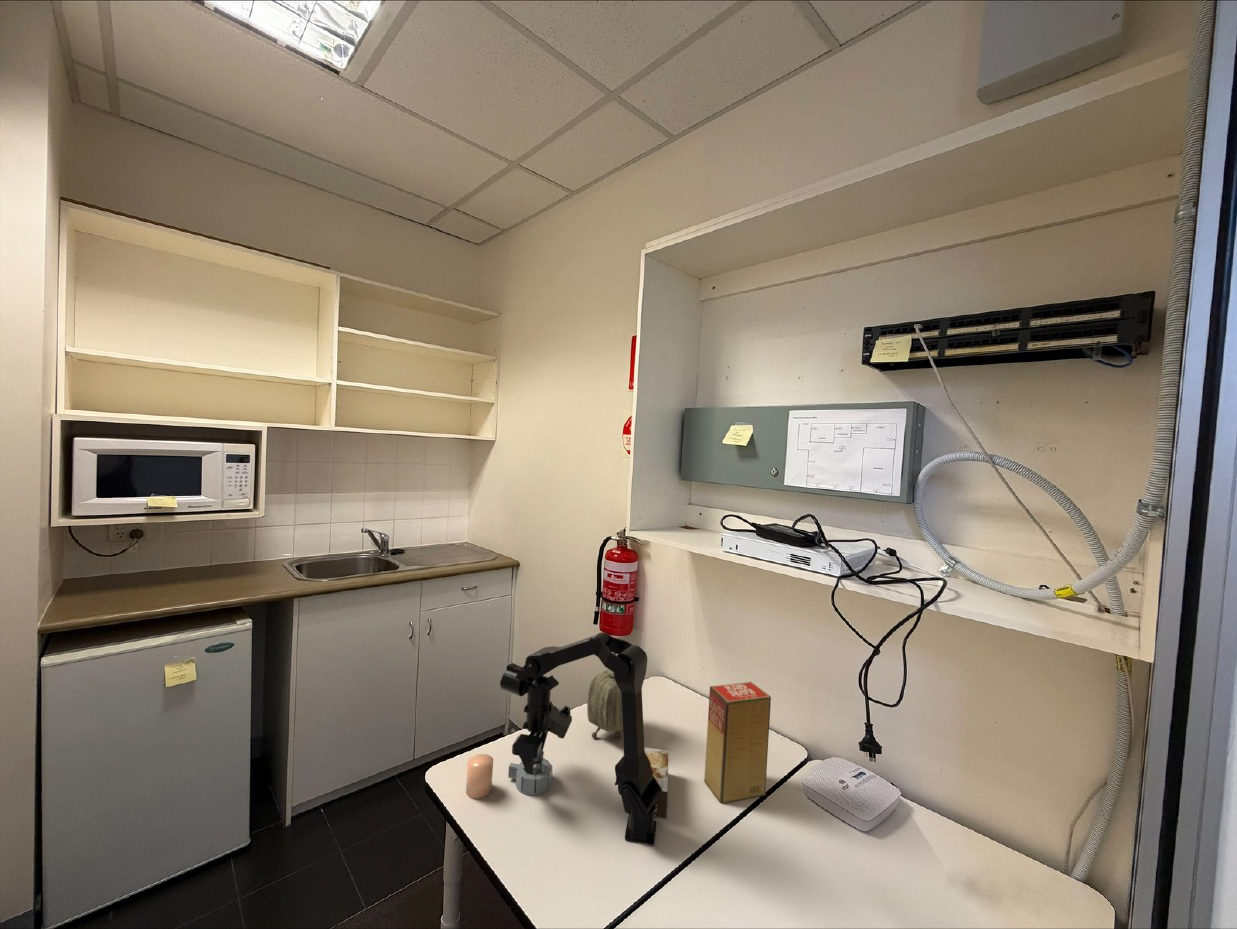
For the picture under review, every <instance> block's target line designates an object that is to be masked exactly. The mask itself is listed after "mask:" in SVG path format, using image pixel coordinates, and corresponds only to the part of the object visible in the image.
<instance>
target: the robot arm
mask: <svg viewBox="0 0 1237 929" xmlns="http://www.w3.org/2000/svg"><path fill="white" fill-rule="evenodd" d="M613 653H616V655H615V654H613ZM593 655H594V656H596V657H597V658H598V660H599V661H600V662H601V663H602V664H603V666H604V667H605V668H606V669H607V670H608V669H609V670H611V671H612V672H613V673H614V678H615V682H616V684H617V685H618V687H619V689H620V691H621V704H622V726H623V728H622V746H623V747H622V748H623V749H622V750H623V756H622V757H621V758H620V760H619V761H618V762H617V763H616V764H615V765H614V773H615V783H614V786H617V790H618V795H619V796H621V801H622V805H623V809H624V812H625V813H626V814H628V817H627V822H626V827H625V832H624V840H625V841H627V842H634V843H640V844H644V845H650V846H654V845H655V842H656V831H657V821H656V820H655V818H656V816H655V802H656V800H657V799H658V798H659V796H660V794H661V792H662V788H661V787H660V785H659V784H658V782H657V781H656V779H655V777H654V776H653V773H652V768H651V763H650V760H649V759H648V757H647V755H646V753H645V750H644V747H645V734H644V733H645V732H644V711H643V691H642V690H643V685H644V681H645V678H646V675H647V668H648V666H647V665H648V655H647V652H646V651H645V650H644V649H643V648H642V647H640V646H639V645H636V644H635V645H634V644H632V643H630V642H629V641H628V640H625V639H621V638H617V637H614V636H612V635H610V634H608V632H603V631H602V632H598V633H597V634H594V635H592V636H589V637H587V638H583V639H581V640H577V641H574V642H572V643H569V644H566V645H562V646H555V645H553V646H545V647H542V648H540V649H539V650H537V651H535V652H533V653H531V654H529V655H527V657H526V658H525V663H524V666H520V665H517V664H516V663H513V662H510V663H509V664H508V665H506V670H505V671H504V672H503V674H502V676H501V678H500V681H499V685H500V690H502V691H505V692H507V693H510V694H513V695H515V696H518V697H524V696H525V695H526V705H525V706H524V708H523V713H525V721H524V723H523V725H522V730H523V729H524V730H527V731H528V732H530V733H529V734H525V733H520V734H519V735H518V736H517V737H516V738H515V740H514V742H513V744H512V747H511V753H512V755H513V756H518V757H519V759H520V762H522V763H523V765H524V767H525V769H526V772H527V773H529V774H531V773H532V770H533V766H534V761H535V758H536V757H538V755H539V754H540V752H541V750H543V751H544V748H545V743H546V740H547V737H548V734H549V732H550V733H551V734H553V735H556V736H557V737H558V739H562V740H563V739H565V737H566V734H567V733H568V730H569V728H570V726H571V723H572V721H573V716H572V715H571V713H572V712H571V707H569V706H567V705H564V706H562V708H558V707H557V706H556V705H554V703H553V702H552V701H551V691H552V690H553V689H554V688H556V687H557V686H559V685H560V682H559V681H558V680H557V678H555V676H554V675H553V674H551V675H550V676H547V675H546V674H548V673H549V672H551V671H553V670H554V669H556V668H557V667H559V666H563V665H566V664H569V663H572V662H575V661H578V660H580V659H585V658H587V657H591V656H593Z"/></svg>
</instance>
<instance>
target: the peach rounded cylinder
mask: <svg viewBox="0 0 1237 929" xmlns="http://www.w3.org/2000/svg"><path fill="white" fill-rule="evenodd" d="M466 766H467V770H466V772H467V773H466V786H465V794H466V796H467V797H469V798H470V799H472V798H475V799H474V800H479V799H478V798H481V799H484V798H486V797H488V796H489V795H488V794H489V793H490V794H491V792H492V789H493V773H494V758H493V756H492V755H489V754H488V753H480V754H474V755H473V756H472V757H470V758H469V759H468V760H467V765H466ZM485 796H486V797H485Z"/></svg>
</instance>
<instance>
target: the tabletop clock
mask: <svg viewBox="0 0 1237 929" xmlns="http://www.w3.org/2000/svg"><path fill="white" fill-rule="evenodd" d="M612 653H613V652H612ZM613 654H615V655H616V656H617V654H616V653H613ZM587 694H588V695H587V702H586V703H587V704H586V705H587V710H586V713H587V714H586V715H587V719H588V722H589V723H591V724H593V725H594V726H596V727H597V728H596V730H595V731H593V732H592V733H591V737H592V739H596V738H597V736H598V733H599V731H600V730H601V729H602V730H603V731H605V732H607V733H614V732H615V738H617V739H620V738H621V736H622V734H621V732H620V730H623V726H622V704H621V691H620V689H619V687H618V685H617V684H616V682H615V678H614V673H613V672H612V671H611V670H609V669H608V668H607V669H606V670H603V671H602V672H600V673H599V674H597V675H595V676H593V678H592V679H591V680H590V684H589V688H588V693H587Z"/></svg>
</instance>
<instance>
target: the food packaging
mask: <svg viewBox="0 0 1237 929" xmlns="http://www.w3.org/2000/svg"><path fill="white" fill-rule="evenodd" d="M708 696H709V698H708V714H707V729H706V730H707V733H706V735H707V736H706V748H705V765H704V766H705V767H704V769H705V770H704V779H703V781H704V783H705V785H706V786H707V787H708V789H709V790H710V791H711V792H712V794H713V795H714V797H715V799H716V800H717V801H718V803H720V804H727V803H728V804H729V803H732V802H737V801H742V800H747V799H748V800H749V799H754V798H758V797H759V798H760V797H763V796H766V790H767V787H766V786H767V771H768V770H767V768H768V767H767V765H768V754H769V753H768V751H769V739H770V738H769V735H770V722H771V721H770V719H771V703H772V702H771V701H772V698H771V695H769V694H768V693H767V692H766V691H764V690H763V689H761V687H759V686H758V685H757V684H755V683H753V681H747V682H737V683H731V684H730V683H729V684H721V685H719V684H718V685H710V686H709V695H708Z"/></svg>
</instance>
